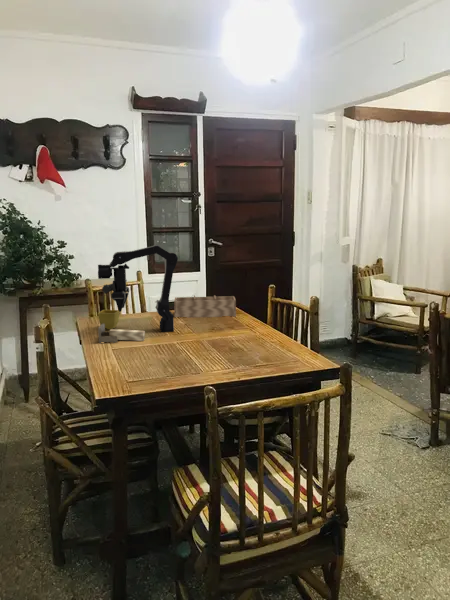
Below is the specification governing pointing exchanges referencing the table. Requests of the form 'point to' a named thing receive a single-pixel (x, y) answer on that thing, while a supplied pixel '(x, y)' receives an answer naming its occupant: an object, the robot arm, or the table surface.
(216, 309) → the holder
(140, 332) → the rail
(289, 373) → the table surface
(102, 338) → the bracket
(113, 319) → the flower pot
